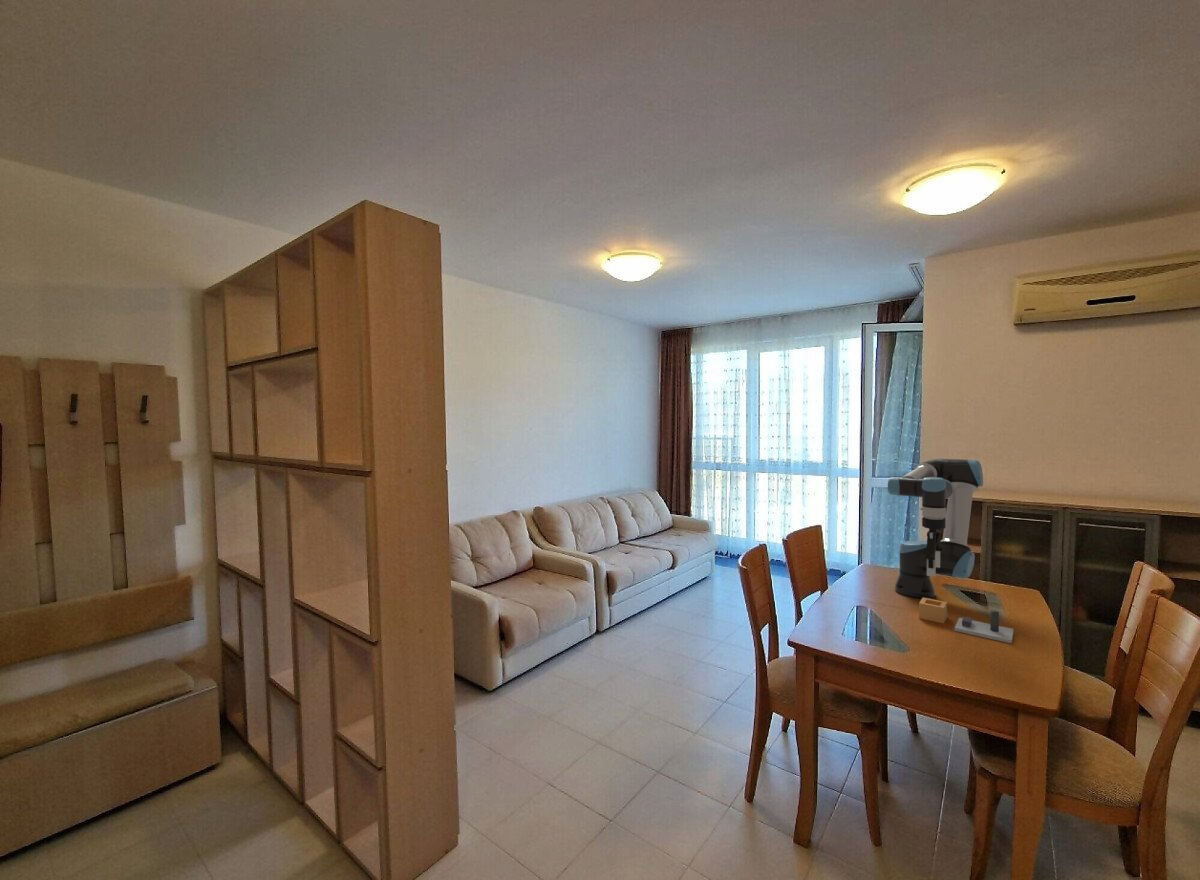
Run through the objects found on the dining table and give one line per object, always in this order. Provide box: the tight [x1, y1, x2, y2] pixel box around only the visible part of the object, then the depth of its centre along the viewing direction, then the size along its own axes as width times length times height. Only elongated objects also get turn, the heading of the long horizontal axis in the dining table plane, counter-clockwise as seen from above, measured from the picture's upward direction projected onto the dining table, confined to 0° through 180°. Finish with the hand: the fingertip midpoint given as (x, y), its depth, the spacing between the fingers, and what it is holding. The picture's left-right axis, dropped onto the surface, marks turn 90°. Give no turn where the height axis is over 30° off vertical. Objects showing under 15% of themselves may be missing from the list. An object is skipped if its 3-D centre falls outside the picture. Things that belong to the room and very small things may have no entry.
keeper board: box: [954, 609, 1014, 645], centre depth 178 cm, size 12×16×8 cm
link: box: [918, 598, 948, 625], centre depth 191 cm, size 8×8×6 cm
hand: (933, 571), depth 190 cm, fingers open, 13 cm apart
